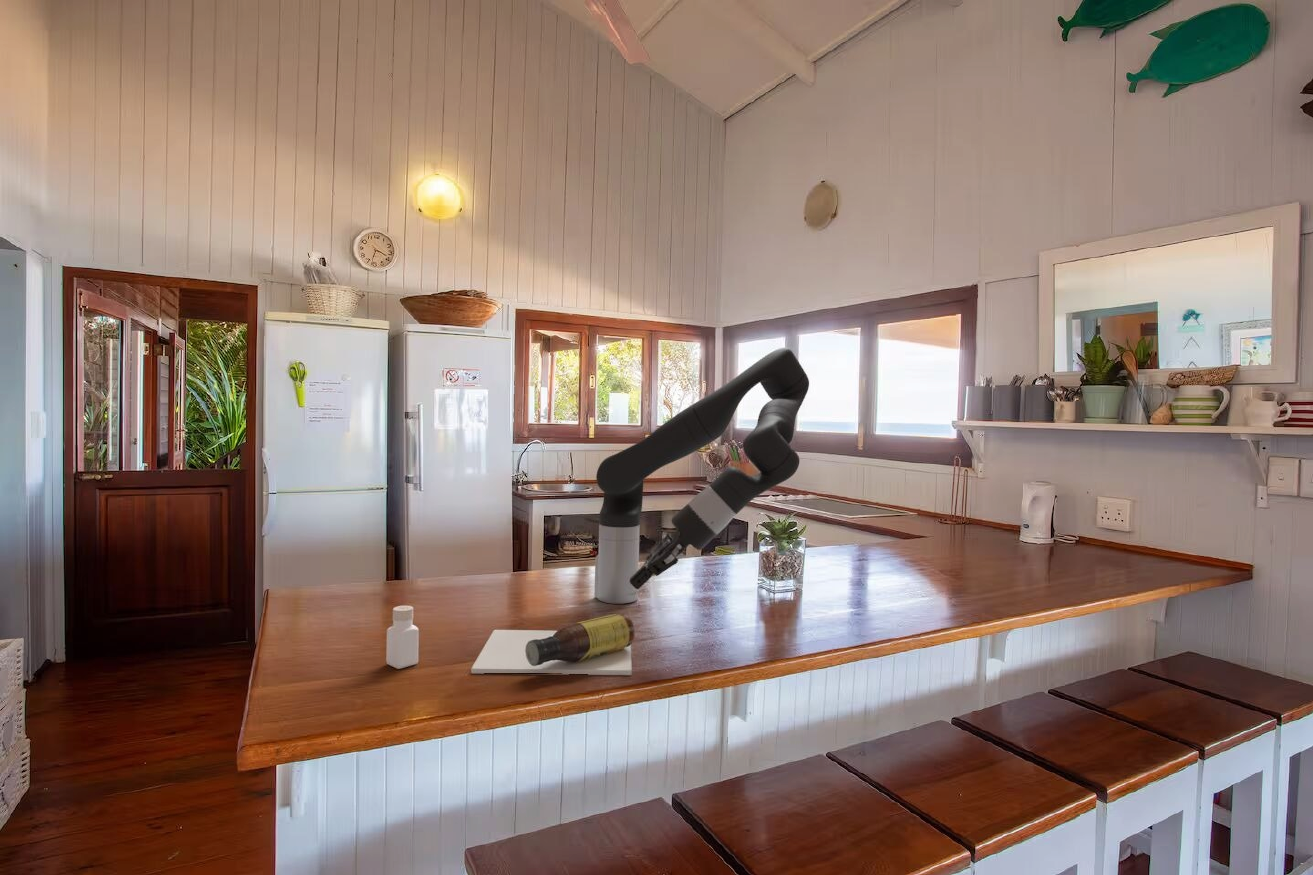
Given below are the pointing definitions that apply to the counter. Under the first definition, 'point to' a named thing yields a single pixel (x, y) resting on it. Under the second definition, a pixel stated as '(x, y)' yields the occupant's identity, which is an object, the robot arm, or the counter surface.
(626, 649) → the cutting mat
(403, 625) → the white pill bottle
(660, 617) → the counter surface
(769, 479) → the robot arm
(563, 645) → the sauce bottle
